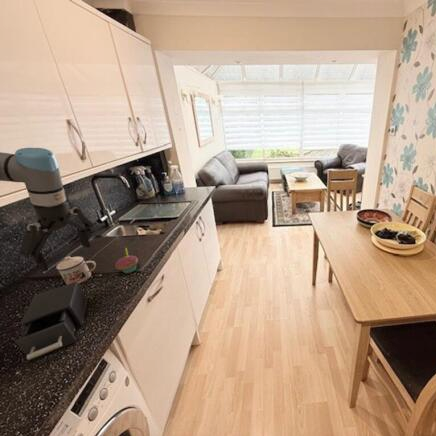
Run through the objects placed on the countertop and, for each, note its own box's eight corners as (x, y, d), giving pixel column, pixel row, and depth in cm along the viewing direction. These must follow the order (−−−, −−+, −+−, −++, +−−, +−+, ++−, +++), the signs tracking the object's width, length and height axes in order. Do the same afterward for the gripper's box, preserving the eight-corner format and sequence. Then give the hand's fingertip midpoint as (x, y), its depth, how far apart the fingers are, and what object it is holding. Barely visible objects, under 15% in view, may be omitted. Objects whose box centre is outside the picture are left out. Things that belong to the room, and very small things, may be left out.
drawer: (74, 351, 71) (61, 333, 67) (26, 371, 66) (10, 353, 62) (82, 313, 84) (71, 297, 81) (43, 328, 79) (30, 311, 76)
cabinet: (83, 326, 80) (69, 305, 76) (36, 345, 74) (19, 323, 70) (88, 300, 91) (76, 281, 87) (48, 315, 86) (34, 295, 82)
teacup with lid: (63, 289, 98) (49, 266, 93) (68, 278, 105) (55, 256, 100) (99, 278, 104) (87, 256, 99) (101, 268, 111) (90, 246, 106)
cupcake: (140, 262, 112) (131, 241, 107) (141, 271, 106) (132, 249, 101) (119, 269, 108) (108, 247, 103) (119, 279, 102) (107, 256, 97)
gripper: (6, 224, 60) (32, 285, 70) (100, 191, 81) (109, 241, 91) (-18, 215, 60) (11, 276, 70) (81, 185, 82) (92, 235, 92)
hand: (66, 256), depth 81 cm, fingers open, 13 cm apart
